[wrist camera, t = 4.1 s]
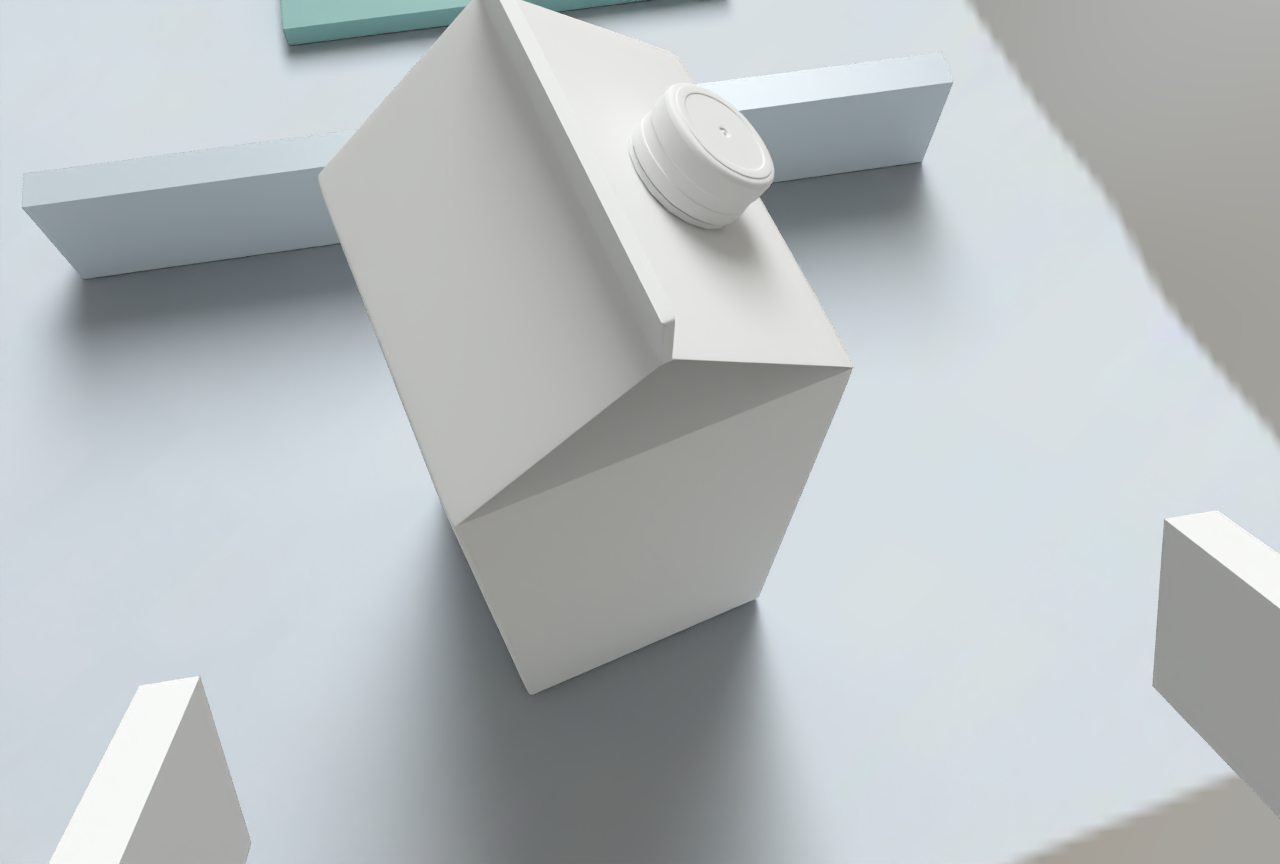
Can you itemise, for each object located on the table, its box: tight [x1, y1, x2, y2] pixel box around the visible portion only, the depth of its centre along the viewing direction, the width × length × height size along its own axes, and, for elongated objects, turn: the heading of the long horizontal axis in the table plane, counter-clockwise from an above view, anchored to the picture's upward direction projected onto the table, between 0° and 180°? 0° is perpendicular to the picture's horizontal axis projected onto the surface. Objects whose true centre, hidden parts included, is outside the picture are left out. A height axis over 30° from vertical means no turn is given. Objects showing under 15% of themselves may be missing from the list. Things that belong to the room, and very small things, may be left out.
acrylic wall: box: [22, 52, 953, 279], centre depth 36 cm, size 28×1×4 cm, turn 100°
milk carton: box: [318, 0, 853, 695], centre depth 24 cm, size 7×7×19 cm
